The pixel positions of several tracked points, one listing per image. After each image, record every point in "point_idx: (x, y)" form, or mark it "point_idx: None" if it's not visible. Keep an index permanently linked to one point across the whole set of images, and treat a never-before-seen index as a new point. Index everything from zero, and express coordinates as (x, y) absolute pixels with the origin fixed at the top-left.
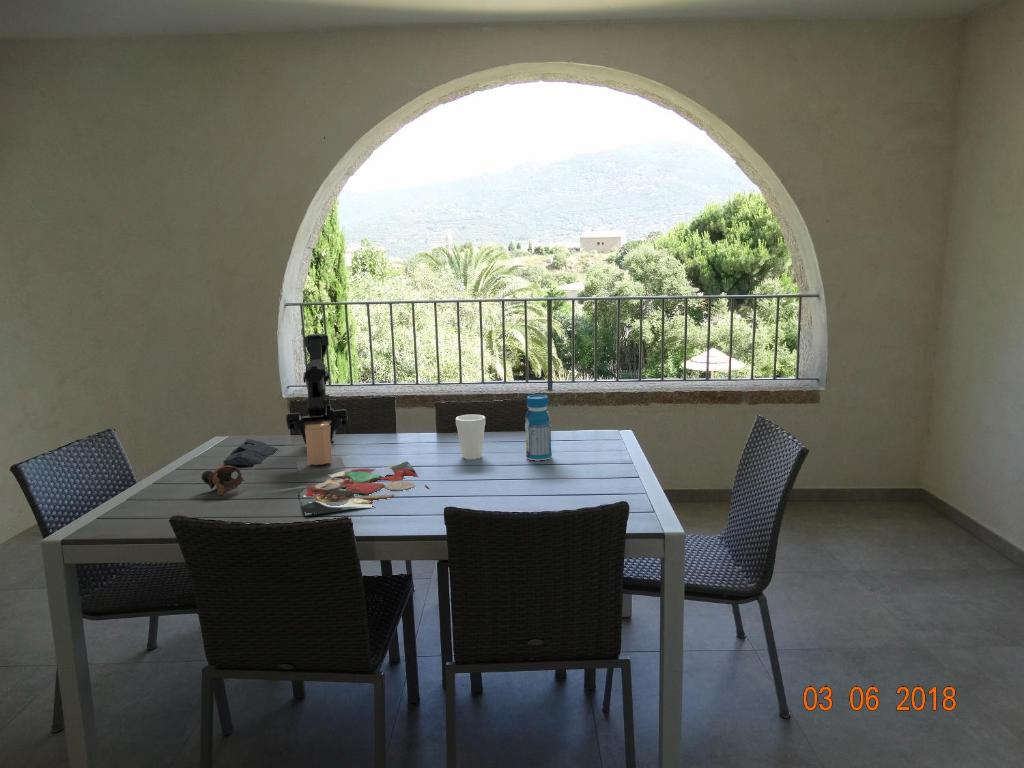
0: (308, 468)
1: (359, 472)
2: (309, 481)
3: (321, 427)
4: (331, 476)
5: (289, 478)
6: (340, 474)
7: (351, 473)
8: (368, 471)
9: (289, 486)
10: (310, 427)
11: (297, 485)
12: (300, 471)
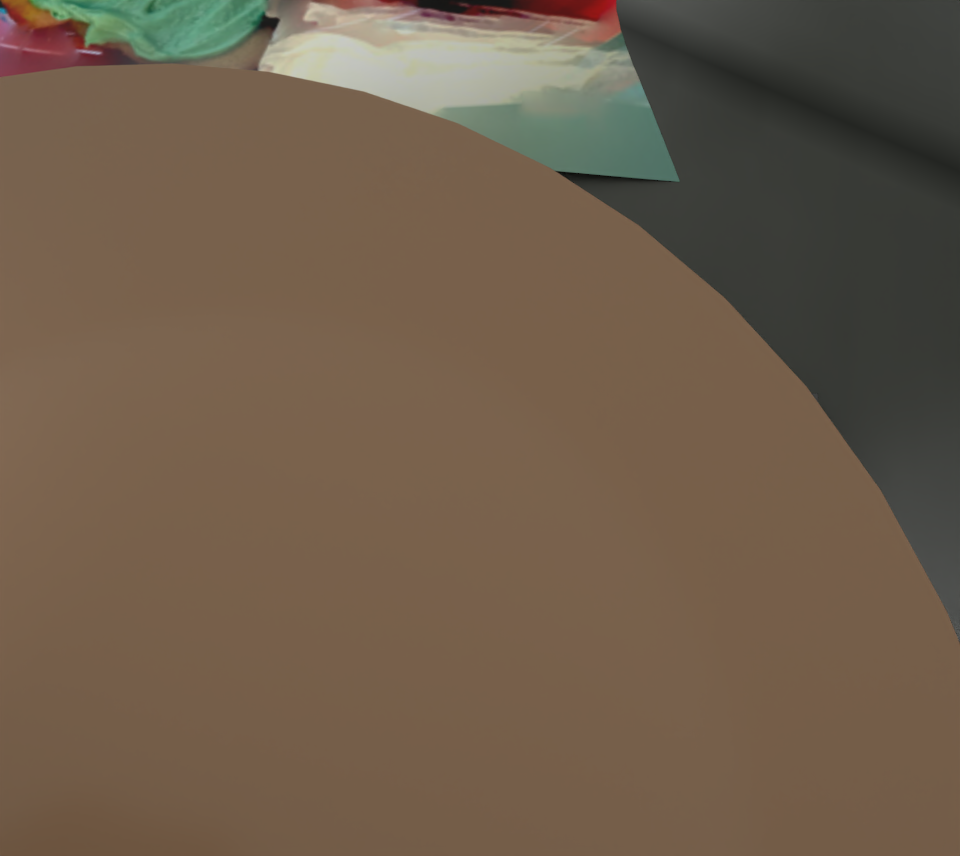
0: None
1: (110, 10)
2: (700, 92)
3: (35, 117)
4: (431, 70)
5: (948, 334)
6: (321, 58)
7: (199, 24)
8: (3, 41)
9: (951, 14)
10: (648, 261)
11: (854, 10)
12: None
